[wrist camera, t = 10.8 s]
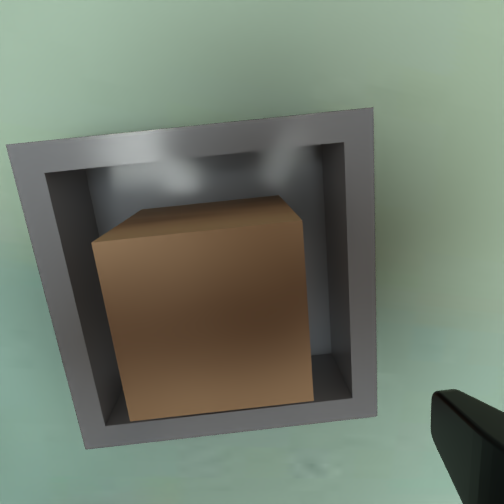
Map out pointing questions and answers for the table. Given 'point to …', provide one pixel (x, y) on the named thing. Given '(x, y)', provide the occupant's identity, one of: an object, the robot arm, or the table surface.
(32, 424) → the table surface
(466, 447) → the robot arm
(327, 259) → the grey square tray
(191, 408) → the walnut cube
